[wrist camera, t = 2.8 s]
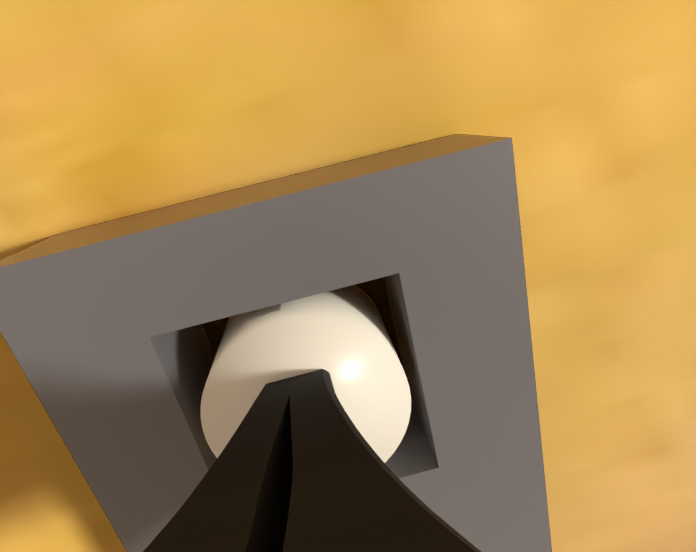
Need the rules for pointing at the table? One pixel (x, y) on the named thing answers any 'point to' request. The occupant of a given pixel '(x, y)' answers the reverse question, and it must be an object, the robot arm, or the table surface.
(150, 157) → the table surface
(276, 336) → the button
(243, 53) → the table surface
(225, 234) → the control strip
